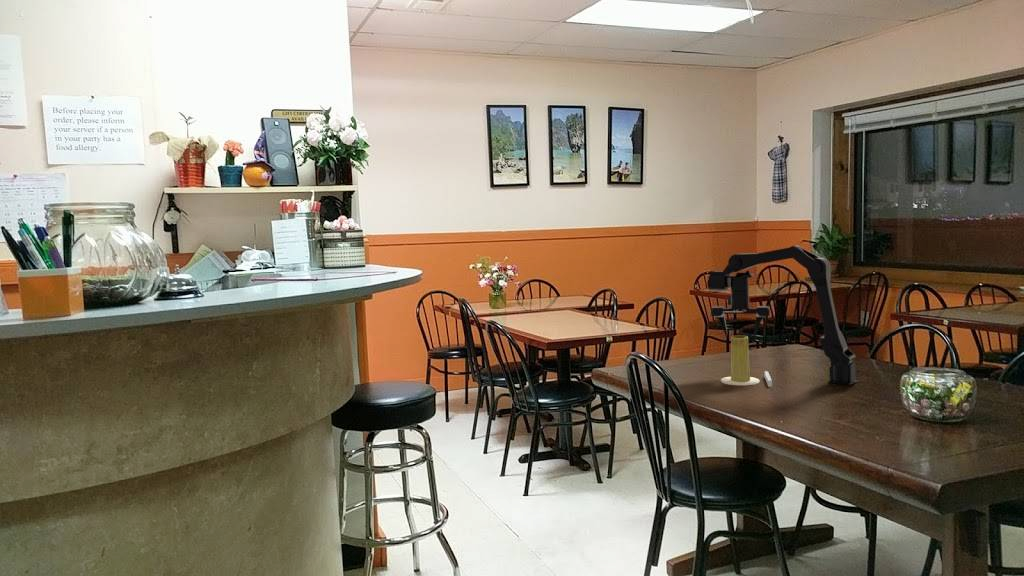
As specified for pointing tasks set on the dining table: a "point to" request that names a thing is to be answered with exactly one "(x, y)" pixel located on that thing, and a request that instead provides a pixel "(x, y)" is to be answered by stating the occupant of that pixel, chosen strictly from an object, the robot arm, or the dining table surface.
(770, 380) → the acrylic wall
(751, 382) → the mat
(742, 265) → the robot arm
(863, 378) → the dining table surface
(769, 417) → the dining table surface
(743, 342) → the vase
